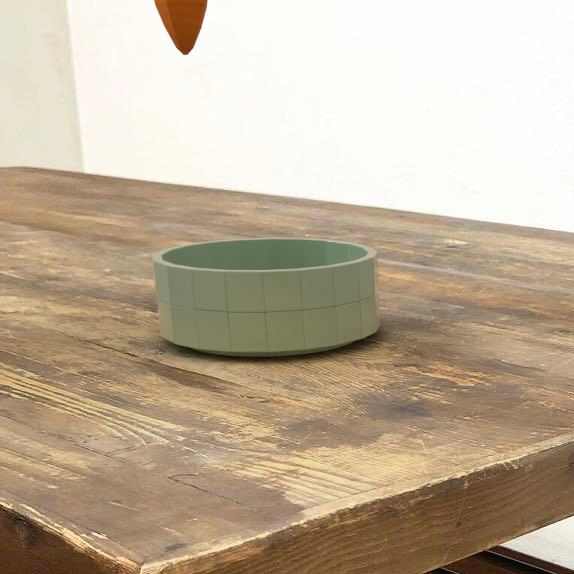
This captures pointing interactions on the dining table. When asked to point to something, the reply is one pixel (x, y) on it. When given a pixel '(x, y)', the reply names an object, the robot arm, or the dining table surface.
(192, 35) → the carrot
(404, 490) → the dining table surface
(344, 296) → the bowl
